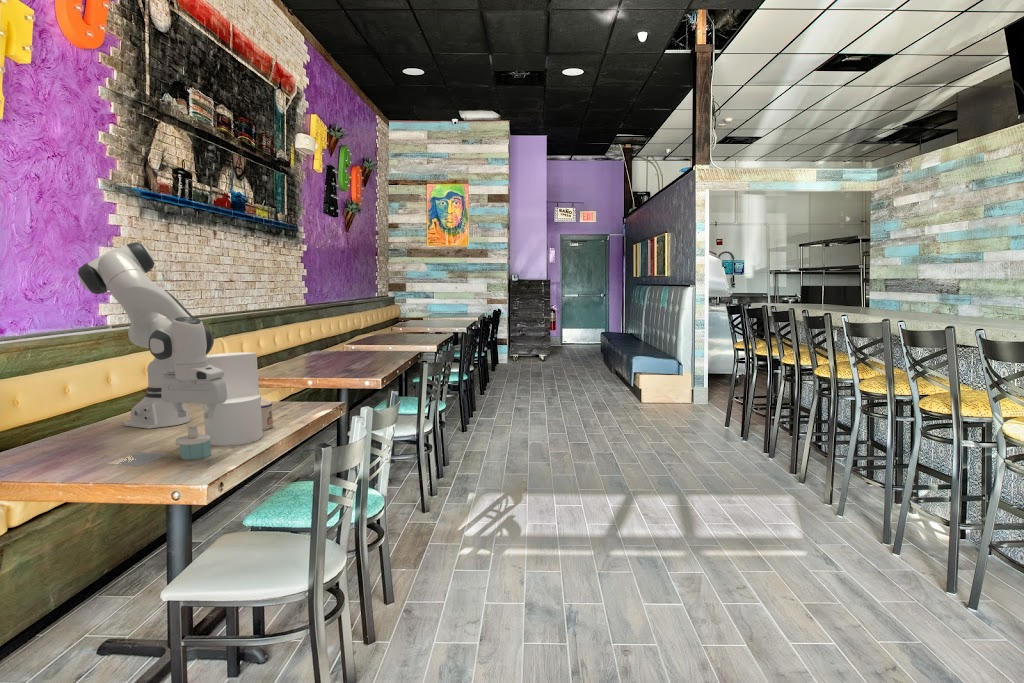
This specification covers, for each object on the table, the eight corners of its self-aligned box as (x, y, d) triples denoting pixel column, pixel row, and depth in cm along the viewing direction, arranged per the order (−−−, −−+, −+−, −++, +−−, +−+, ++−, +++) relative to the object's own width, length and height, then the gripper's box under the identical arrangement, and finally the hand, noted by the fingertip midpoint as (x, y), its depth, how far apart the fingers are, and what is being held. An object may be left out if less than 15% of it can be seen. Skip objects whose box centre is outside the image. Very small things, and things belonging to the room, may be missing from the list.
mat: (103, 464, 177) (103, 463, 177) (137, 452, 188) (137, 452, 188) (137, 466, 174) (137, 465, 174) (170, 455, 185) (170, 454, 185)
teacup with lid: (273, 429, 215) (272, 397, 214) (245, 432, 212) (243, 399, 211) (273, 422, 226) (271, 391, 225) (246, 425, 223) (244, 393, 222)
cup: (174, 459, 180) (173, 443, 180) (194, 452, 188) (193, 436, 188) (197, 461, 179) (196, 444, 178) (216, 453, 186) (215, 437, 186)
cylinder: (199, 438, 204) (194, 355, 201) (253, 430, 215) (248, 351, 212) (213, 449, 191) (207, 360, 188) (270, 439, 202) (265, 355, 199)
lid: (168, 444, 179) (167, 430, 178) (192, 436, 187) (191, 423, 187) (194, 446, 176) (193, 431, 176) (217, 438, 185) (216, 424, 185)
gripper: (154, 372, 180) (157, 418, 182) (214, 374, 176) (217, 421, 177) (170, 369, 187) (173, 413, 188) (228, 370, 182) (231, 416, 184)
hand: (195, 417), depth 183 cm, fingers open, 8 cm apart
